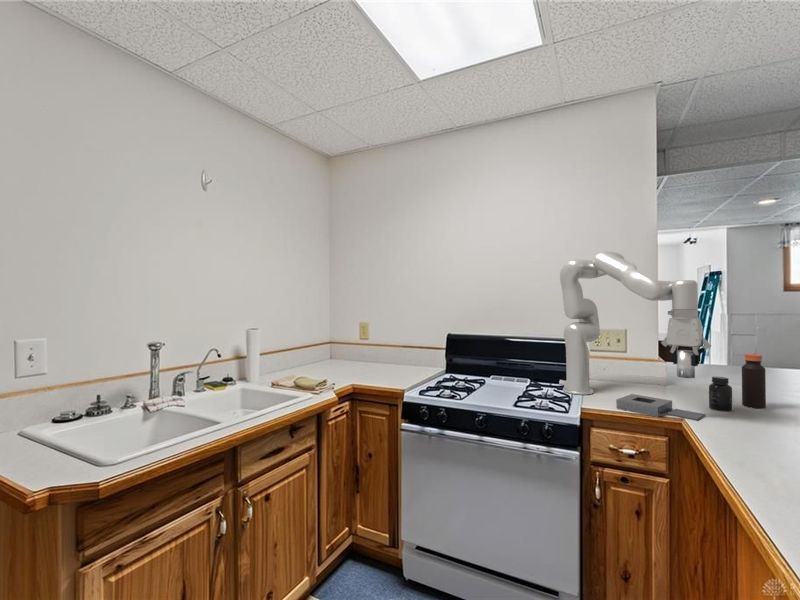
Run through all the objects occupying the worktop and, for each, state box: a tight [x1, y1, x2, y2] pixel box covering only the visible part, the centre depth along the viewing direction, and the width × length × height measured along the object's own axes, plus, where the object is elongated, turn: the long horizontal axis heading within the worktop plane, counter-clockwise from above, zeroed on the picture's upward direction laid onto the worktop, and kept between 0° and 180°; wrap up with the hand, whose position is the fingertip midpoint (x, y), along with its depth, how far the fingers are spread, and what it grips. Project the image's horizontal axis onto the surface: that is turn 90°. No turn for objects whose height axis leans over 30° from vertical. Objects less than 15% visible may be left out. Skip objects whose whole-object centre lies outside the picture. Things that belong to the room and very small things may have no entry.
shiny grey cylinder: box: [676, 349, 696, 379], centre depth 139 cm, size 5×5×9 cm
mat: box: [666, 408, 706, 422], centre depth 139 cm, size 9×9×1 cm
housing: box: [615, 393, 673, 418], centre depth 147 cm, size 14×14×4 cm
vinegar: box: [741, 353, 767, 409], centre depth 149 cm, size 7×7×20 cm
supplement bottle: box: [708, 376, 733, 412], centre depth 146 cm, size 7×7×12 cm
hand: (685, 364), depth 139 cm, fingers closed on shiny grey cylinder, 5 cm apart
